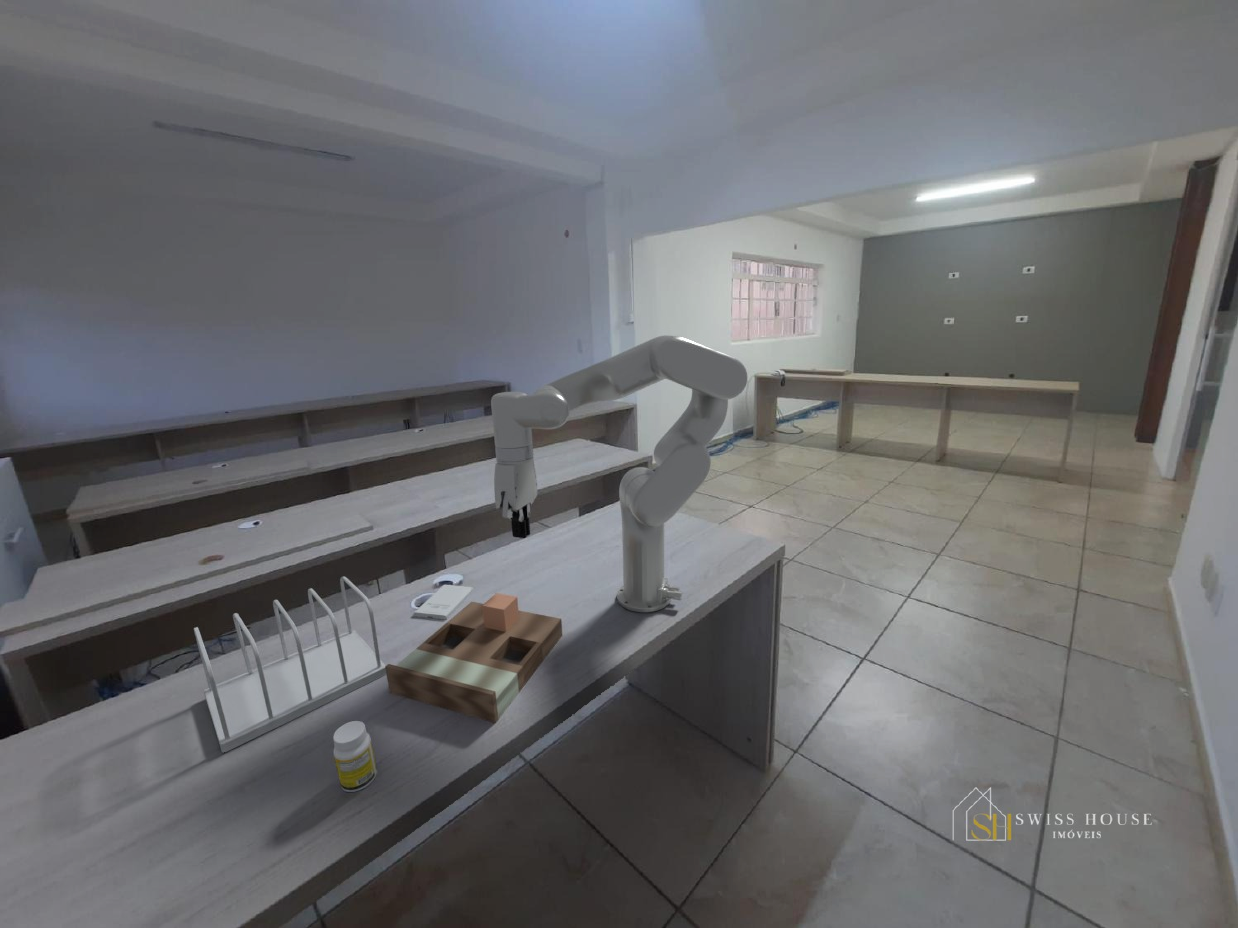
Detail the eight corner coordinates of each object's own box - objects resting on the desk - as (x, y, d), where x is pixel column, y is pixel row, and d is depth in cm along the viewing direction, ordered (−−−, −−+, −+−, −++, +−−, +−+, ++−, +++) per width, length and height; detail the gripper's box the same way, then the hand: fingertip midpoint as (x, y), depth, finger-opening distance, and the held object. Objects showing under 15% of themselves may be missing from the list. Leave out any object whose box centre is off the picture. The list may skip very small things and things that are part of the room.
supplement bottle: (349, 765, 74) (339, 719, 71) (382, 762, 74) (373, 716, 72) (334, 795, 69) (323, 746, 67) (369, 791, 69) (359, 743, 67)
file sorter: (222, 755, 76) (197, 669, 72) (205, 699, 88) (182, 622, 84) (388, 674, 93) (375, 600, 89) (355, 636, 105) (342, 570, 101)
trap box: (562, 635, 103) (560, 612, 102) (495, 722, 81) (492, 694, 79) (473, 617, 111) (470, 595, 109) (389, 692, 88) (385, 666, 87)
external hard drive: (473, 593, 122) (446, 621, 110) (443, 590, 124) (414, 617, 112) (473, 587, 121) (445, 615, 110) (443, 584, 123) (413, 611, 111)
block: (519, 618, 103) (517, 596, 102) (506, 631, 98) (503, 609, 97) (498, 614, 105) (496, 592, 103) (484, 627, 100) (482, 605, 99)
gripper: (518, 443, 110) (524, 520, 115) (477, 461, 96) (486, 548, 101) (548, 445, 107) (553, 524, 112) (510, 464, 93) (518, 553, 98)
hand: (521, 535), depth 106 cm, fingers closed
